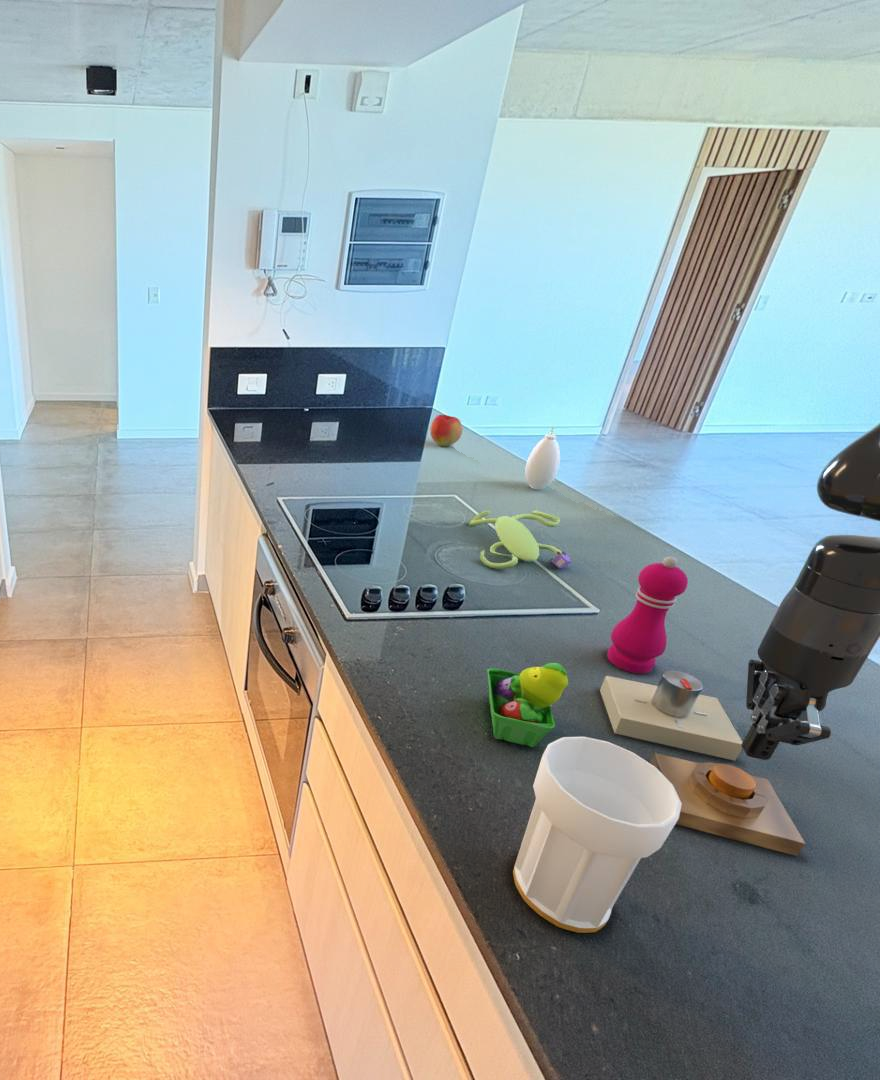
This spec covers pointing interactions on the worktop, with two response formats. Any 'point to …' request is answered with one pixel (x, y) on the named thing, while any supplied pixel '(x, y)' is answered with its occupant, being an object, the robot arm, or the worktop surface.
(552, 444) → the sauce bottle
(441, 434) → the apple
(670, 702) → the dimmer knob
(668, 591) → the pepper mill
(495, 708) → the fruit basket
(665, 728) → the dimmer panel
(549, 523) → the figurine
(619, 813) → the cup
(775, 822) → the switch block
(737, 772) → the light button
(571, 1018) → the worktop surface
